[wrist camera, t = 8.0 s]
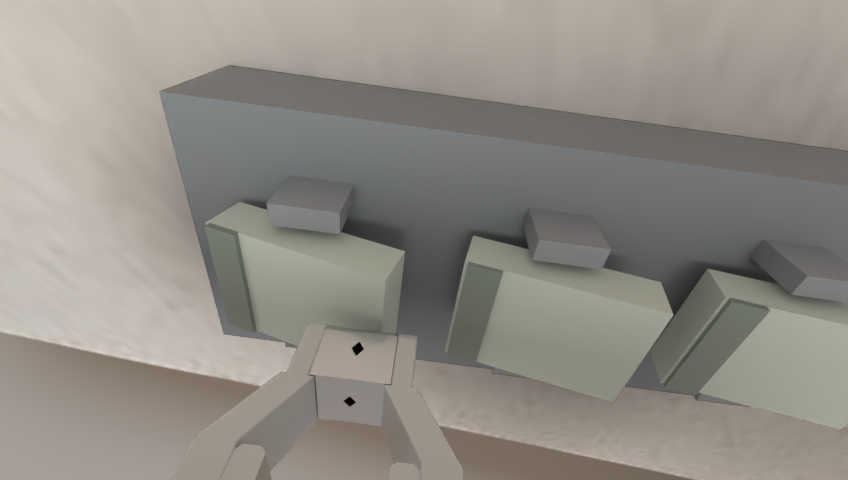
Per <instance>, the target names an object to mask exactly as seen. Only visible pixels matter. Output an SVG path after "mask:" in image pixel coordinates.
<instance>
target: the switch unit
mask: <svg viewBox="0 0 848 480" xmlns="http://www.w3.org/2000/svg"><path fill="white" fill-rule="evenodd" d="M159 93H160V97H161V100H162V104H163V108H164V112H165V115H166V119H167V123H168V127H169V130H170V134H171V138H172V142H173V145H174V149H175V153H176V157H177V160H178V164H179V168H180V172H181V175H182V179H183V183H184V187H185V190H186V194H187V198H188V202H189V205H190V209H191V213H192V217H193V220H194V224H195V228H196V232H197V235H198V239H199V243H200V247H201V250H202V254H203V258H204V262H205V265H206V269H207V273H208V277H209V280H210V284H211V288H212V292H213V295H214V299H215V303H216V307H217V310H218V314H219V318H220V322H221V325H222V329H223V333H224V334H225V335H233V336H241V337H248V338H256V339H264V340H271V341H279V342H285V345H286V347H292V348H297V347H298V346H296V345H293V344H291V343H288V342H286V341H283V340H280V339H278V338H275V337H272V336H270V335H267V334H264V333H262V332H259V331H256V332H255V333H254V334H253V333H251V332H248V331H245V330H243V329H240V328H237V327H235V326H232V325H229V324H228V320H227V316H226V312H225V308H224V304H223V300H222V296H221V292H220V288H219V284H218V280H217V276H216V272H215V268H214V264H213V260H212V256H211V252H210V248H209V244H208V240H207V236H206V232H205V228H204V226H205V225H206V223H205V222H207V221H209V220H210V219H212V218H214V217H215V216H217V215H219V214H220V213H222V212H224V211H225V210H227V209H229V208H230V207H232V206H234V205H235V204H237V203H239V202H243V203H246V204H249V205H253V206H256V207H259V208H263V209H266V210H267V211H268V219H269V225H274V226H281V227H289V228H296V229H303V230H311V231H318V232H326V233H333V234H340V233H341V232H342V233H346V234H349V235H352V236H356V237H359V238H362V239H366V240H369V241H372V242H376V243H379V244H382V245H386V246H389V247H392V248H396V249H399V250H402V251H405V257H404V266H403V275H402V284H401V293H400V302H399V311H398V320H397V329H396V333H397V334H398V336H399V334H403V335H411V336H417V347H416V357H415V359H417V360H425V361H433V362H440V363H448V364H456V365H463V366H471V367H479V368H486V369H492V374H500V375H508V376H515V377H523V378H529V377H525V376H522V375H519V374H515V373H512V372H509V371H505V370H502V369H499V368H495V367H492V366H489V365H486V364H482V363H479V362H476V364H475V365H473V364H470V363H467V362H463V361H460V360H457V359H454V358H450V357H447V353H446V352H445V348H446V343H447V339H448V334H449V330H450V325H451V321H452V317H453V312H454V308H455V303H456V299H457V294H458V290H459V286H460V281H461V277H462V272H463V268H464V263H465V259H466V256H467V253H468V250H469V247H470V244H471V241H472V237H473V236H477V237H481V238H485V239H489V240H493V241H497V242H501V243H505V244H509V245H513V246H517V247H521V248H525V249H529V250H530V254H531V258H532V260H535V261H543V262H550V263H558V264H565V265H572V266H580V267H587V268H595V269H602V268H606V269H610V270H614V271H618V272H622V273H626V274H630V275H634V276H638V277H642V278H646V279H650V280H654V281H658V282H661V284H662V286H663V289H664V292H665V294H666V297H667V299H668V302H669V304H670V307H671V310H672V312H673V316H672V318H671V319H670V321H669V322H668V324H667V325H666V327H665V328H664V330H663V331H662V332H661V334H660V335H659V337H658V338H657V340H656V341H655V343H654V344H653V346H652V347H651V348H650V350H649V351H648V353H647V354H646V356H645V357H644V359H643V360H642V361H641V363H640V364H639V366H638V367H637V369H636V370H635V372H634V373H633V375H632V376H631V377H630V379H629V380H628V382H627V383H626V385H625V387H632V388H640V389H648V390H655V391H663V392H671V393H678V394H686V395H692V394H689V393H685V392H681V391H677V390H674V389H670V388H666V387H664V384H663V383H660V380H659V377H658V374H657V371H656V368H655V365H654V362H653V359H652V356H651V353H650V351H651V349H652V348H653V347H654V345H655V344H656V342H657V341H658V339H659V338H660V336H661V335H662V334H663V332H664V331H665V329H666V328H667V326H668V325H669V323H670V322H671V321H672V319H673V318H674V316H675V315H676V313H677V312H678V310H679V309H680V308H681V306H682V305H683V303H684V302H685V300H686V299H687V297H688V296H689V295H690V293H691V292H692V290H693V289H694V287H695V286H696V284H697V283H698V282H699V280H700V279H701V277H702V276H703V274H704V273H705V271H706V270H707V269H712V270H716V271H721V272H725V273H730V274H734V275H739V276H743V277H748V278H752V279H757V280H761V281H766V282H770V283H775V284H779V285H781V286H782V287H783V288H784V289H785V290H786V291H787V292H788V293H790V294H791V295H797V296H804V297H812V298H819V299H826V300H834V301H841V302H848V151H842V150H835V149H828V148H821V147H814V146H806V145H799V144H792V143H785V142H778V141H770V140H763V139H756V138H749V137H742V136H734V135H727V134H720V133H713V132H705V131H698V130H691V129H684V128H677V127H669V126H662V125H655V124H648V123H641V122H633V121H626V120H619V119H612V118H604V117H597V116H590V115H583V114H576V113H568V112H561V111H554V110H547V109H540V108H532V107H525V106H518V105H511V104H504V103H496V102H489V101H482V100H475V99H467V98H460V97H453V96H446V95H439V94H431V93H424V92H417V91H410V90H403V89H395V88H388V87H381V86H374V85H366V84H359V83H352V82H345V81H338V80H330V79H323V78H316V77H309V76H302V75H294V74H287V73H280V72H273V71H266V70H258V69H251V68H244V67H237V66H226V67H224V68H221V69H218V70H216V71H213V72H210V73H207V74H205V75H202V76H199V77H197V78H194V79H191V80H189V81H186V82H183V83H180V84H178V85H175V86H172V87H170V88H167V89H164V90H162V91H159ZM531 379H532V378H531ZM694 397H695V399H696V400H700V401H707V402H715V403H723V404H730V405H738V406H746V407H751V406H747V405H743V404H740V403H736V402H732V401H728V400H724V399H721V398H717V397H713V396H709V395H705V394H702V393H697V394H696V395H694Z"/></svg>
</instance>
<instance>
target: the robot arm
mask: <svg viewBox="0 0 848 480" xmlns="http://www.w3.org/2000/svg"><path fill="white" fill-rule="evenodd" d="M416 347H417V336H411V335H403V334H399V336H398V334H397V333H388V332H379V331H371V330H359V329H352V328H345V327H339V326H332V325H324V324H317V323H309V324H308V325H307V326H306V328H305V330H304V333H303V335H302V337H301V340H300V342H299V344H298V347H297V349H296V351H295V354H294V356H293V358H292V361H291V363H290V365H289V368H288V370H287V372H280V373H279V374H277V375H276V376H275V377H273V378H272V379H271V380H269V381H268V382H267V383H265V384H264V385H263V386H261V387H260V388H259V389H257V390H256V391H255V392H253V393H252V394H251V395H250V396H248V397H247V398H246V399H244V400H243V401H242V402H240V403H239V404H238V405H236V406H235V407H234V408H232V409H231V410H230V411H228V412H227V413H226V414H224V415H223V416H222V417H220V418H219V419H218V420H216V421H215V422H214V423H213V424H211V425H210V426H208V427H207V428H206V429H204V430H203V431H202V432H201V433H199V434H198V435H196V437H195V438H194V440H193V442H192V444H191V446H190V447H189V449H188V451H187V453H186V454H185V456H184V458H183V459H182V461H181V463H180V465H179V466H178V468H177V470H176V472H175V474H174V475H173V477H172V479H171V480H272V478H271V474H270V471H271V470H272V469H273V468H274V467H275V466H276V465H277V463H278V462H279V461H280V460H281V459H282V458H283V457H284V456H285V455H286V454H287V453H288V452H289V450H291V448H292V447H293V446H294V445H295V444H296V443H297V442H298V441H299V440H300V439H301V438H302V437H303V436H304V434H305V433H306V432H307V431H308V430H309V429H310V428H311V427H312V426H313V425H314V424H315V423H316V422H317V419H328V420H340V421H349V422H356V423H363V424H369V425H376V426H381V430H382V433H383V435H384V438H385V441H386V443H387V445H388V449H389V451H390V454H391V457H392V459H393V462H394V465H393V466H391V467H390V471H389V479H388V480H463V470H462V467H461V465H460V463H459V462H458V460H457V458H456V456H455V454H454V453H453V451H452V449H451V447H450V446H449V444H448V442H447V440H446V438H445V437H444V435H443V433H442V431H441V429H440V428H439V426H438V424H437V422H436V420H435V419H434V417H433V415H432V413H431V411H430V410H429V408H428V406H427V404H426V402H425V401H424V399H423V397H422V395H421V393H420V392H419V390H418V389H415V388H413V378H414V368H415V357H416Z"/></svg>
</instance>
